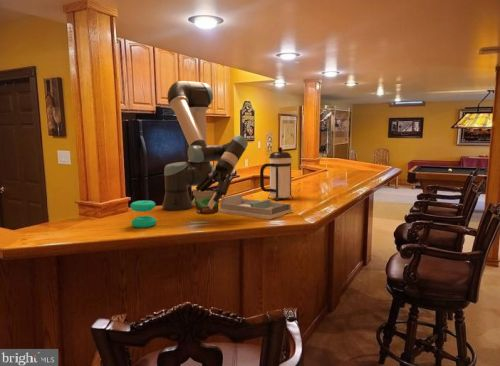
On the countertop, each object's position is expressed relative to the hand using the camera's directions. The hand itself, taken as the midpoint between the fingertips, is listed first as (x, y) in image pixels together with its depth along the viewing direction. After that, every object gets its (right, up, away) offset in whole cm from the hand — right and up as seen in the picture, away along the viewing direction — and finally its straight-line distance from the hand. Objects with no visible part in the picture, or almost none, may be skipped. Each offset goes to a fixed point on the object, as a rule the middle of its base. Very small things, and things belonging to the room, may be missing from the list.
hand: (201, 205), depth 154 cm
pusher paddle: (+23, -3, +23) cm, 33 cm away
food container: (+3, -4, +3) cm, 5 cm away
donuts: (-24, -8, 0) cm, 25 cm away
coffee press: (+37, 0, +58) cm, 69 cm away
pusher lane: (+23, -4, +24) cm, 33 cm away
